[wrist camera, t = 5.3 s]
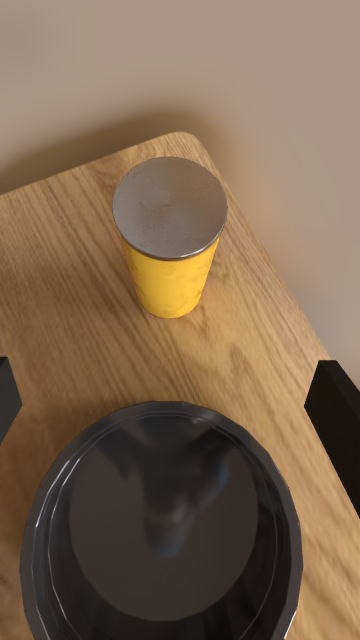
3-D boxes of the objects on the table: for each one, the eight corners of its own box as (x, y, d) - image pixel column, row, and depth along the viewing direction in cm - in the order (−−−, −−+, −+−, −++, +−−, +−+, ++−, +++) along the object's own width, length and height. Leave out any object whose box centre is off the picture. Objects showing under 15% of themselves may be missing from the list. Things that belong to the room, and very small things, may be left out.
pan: (271, 401, 28) (290, 402, 23) (287, 661, 23) (316, 723, 18) (59, 400, 27) (39, 400, 22) (32, 667, 22) (-1, 733, 18)
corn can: (202, 256, 31) (226, 158, 18) (202, 319, 29) (229, 258, 17) (136, 255, 31) (115, 154, 18) (133, 318, 29) (108, 255, 16)
